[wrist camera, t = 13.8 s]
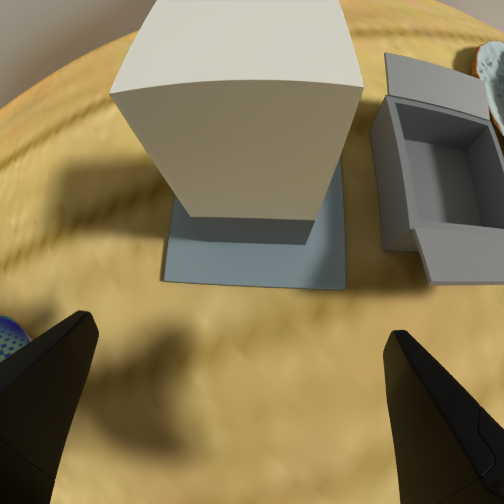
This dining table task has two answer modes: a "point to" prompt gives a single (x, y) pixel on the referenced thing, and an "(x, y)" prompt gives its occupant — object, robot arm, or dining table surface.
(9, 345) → the beer can
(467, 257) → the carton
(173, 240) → the rubber mat
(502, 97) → the food on plate
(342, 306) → the dining table surface
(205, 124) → the box
